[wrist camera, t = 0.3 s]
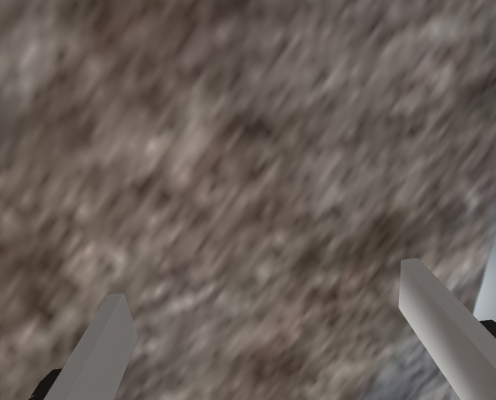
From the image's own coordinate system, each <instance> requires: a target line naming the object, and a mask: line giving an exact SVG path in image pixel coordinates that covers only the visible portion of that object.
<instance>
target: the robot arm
mask: <svg viewBox="0 0 496 400" xmlns="http://www.w3.org/2000/svg"><path fill="white" fill-rule="evenodd" d="M399 309H400V311H401V312H402V313H403V315H404V316H405V318H406V319H407V321H408V322H409V324H410V325H411V327H412V328H413V330H414V331H415V333H416V334H417V336H418V337H419V339H420V340H421V342H422V343H423V345H424V346H425V347H426V349H427V350H428V352H429V353H430V355H431V356H432V358H433V359H434V361H435V362H436V364H437V365H438V367H439V368H440V370H441V371H442V373H443V374H444V376H445V377H446V379H447V380H448V382H449V383H450V384H451V386H452V387H453V389H454V390H455V392H456V393H457V395H458V396H459V398H460V399H461V400H496V322H494V321H493V320H485V321H478V320H477V319H476V318H475V317H474V316H473V315H472V314H471V313H470V312H469V311H468V310H467V308H466V307H465V306H464V305H463V304H462V303H461V302H460V301H459V300H458V299H457V298H456V297H455V296H454V295H453V294H452V293H451V292H450V291H449V290H448V289H447V288H446V287H445V286H444V285H443V284H442V283H441V282H440V281H439V279H438V278H437V277H436V276H435V275H434V274H433V273H432V272H431V271H430V270H429V269H428V268H427V267H426V266H425V265H424V264H423V263H422V262H421V261H420V260H419V259H418V258H416V259H407V260H401V275H400V294H399ZM137 340H138V335H137V332H136V329H135V326H134V323H133V320H132V317H131V314H130V311H129V308H128V305H127V302H126V299H125V295H124V293H121V294H112V295H108V296H107V297H106V299H105V301H104V302H103V304H102V306H101V307H100V309H99V310H98V312H97V314H96V315H95V317H94V319H93V320H92V322H91V323H90V325H89V327H88V328H87V330H86V332H85V333H84V335H83V336H82V338H81V340H80V341H79V343H78V345H77V346H76V348H75V350H74V351H73V353H72V354H71V356H70V358H69V359H68V361H67V363H66V364H65V366H64V367H63V369H55V370H52V371H51V372H50V373H49V374H48V375H47V376H46V377H45V378H44V379H43V380H42V381H41V382H40V383H39V385H38V386H37V388H36V389H35V391H34V392H33V394H32V395H31V398H30V399H29V400H114V398H115V395H116V392H117V390H118V387H119V385H120V382H121V380H122V377H123V375H124V372H125V370H126V367H127V365H128V362H129V360H130V357H131V355H132V352H133V350H134V347H135V345H136V342H137Z"/></svg>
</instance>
